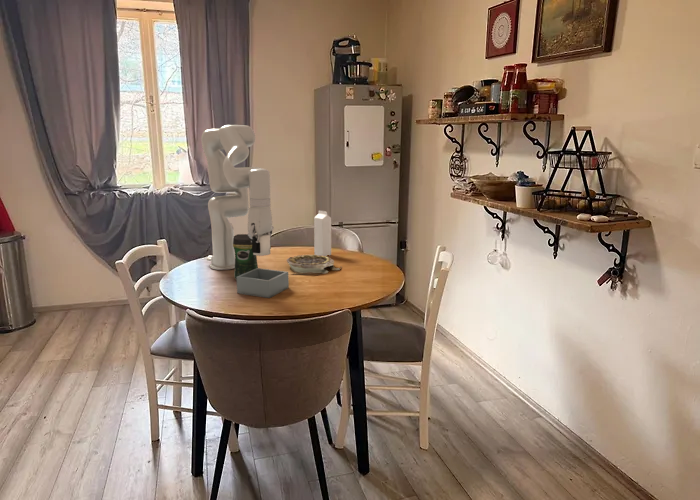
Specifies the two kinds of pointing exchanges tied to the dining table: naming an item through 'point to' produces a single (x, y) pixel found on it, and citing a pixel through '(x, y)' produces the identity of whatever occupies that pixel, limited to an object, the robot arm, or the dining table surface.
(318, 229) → the milk
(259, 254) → the cream rounded block
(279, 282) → the tub
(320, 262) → the pie
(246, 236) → the coffee jar
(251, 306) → the dining table surface
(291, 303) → the dining table surface
